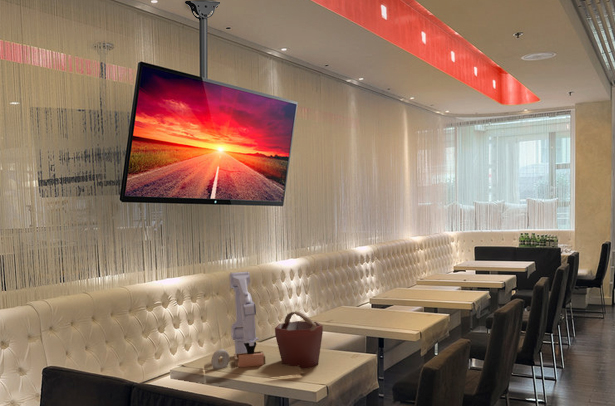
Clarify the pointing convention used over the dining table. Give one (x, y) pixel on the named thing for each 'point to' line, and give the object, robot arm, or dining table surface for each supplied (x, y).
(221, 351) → the donut
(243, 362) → the block
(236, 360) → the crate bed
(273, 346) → the dining table surface
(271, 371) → the dining table surface
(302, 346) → the bucket
